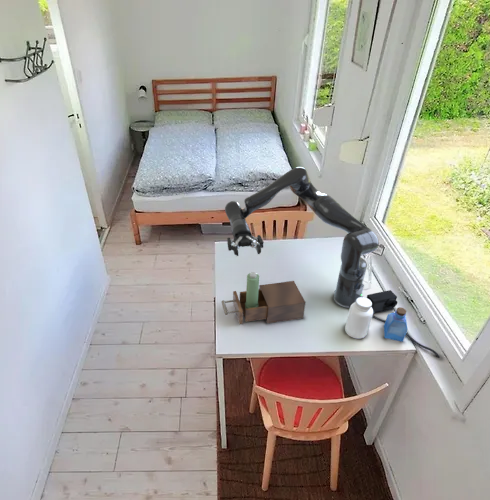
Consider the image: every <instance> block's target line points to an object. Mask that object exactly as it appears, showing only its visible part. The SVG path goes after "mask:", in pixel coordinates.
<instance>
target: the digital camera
mask: <svg viewBox="0 0 490 500" xmlns="http://www.w3.org/2000/svg"><path fill="white" fill-rule="evenodd" d="M366 298H367V299H369V300H370V301H371V302H372V306H371V307H372V309H373V315H374V314H379V313H383V312H389V311H392V310H394V309H395V307H396V306H397V304H398V300H397V298H398V296H397V294H396V293H394V292H393V290H392V289H389V290H383V291H379V292H374V293H369V294H367V295H366Z"/></svg>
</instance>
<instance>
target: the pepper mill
mask: <svg viewBox="0 0 490 500" xmlns="http://www.w3.org/2000/svg"><path fill="white" fill-rule="evenodd" d="M259 285H260V275H259V273H256V272H254V271H251V272H249V273H248V274H247V275H246V290H245V291H246V303H245V309H247V308H255V307H258V292H259Z"/></svg>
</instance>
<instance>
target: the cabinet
mask: <svg viewBox="0 0 490 500" xmlns="http://www.w3.org/2000/svg"><path fill="white" fill-rule="evenodd" d="M259 289H260V290H261V292H262V295H263V297H264V299H265V302H266V304H267V307H268V312H267V319H265V321H266V324H272V323H280V322H281V323H282V322H288V321H294V320H302V319H304V316H305V308H306V301H305V298H304V297H303V295H302V293H301V292H300V289H299V287H298V286H297V283H296V282H295V280H289V281H281V282H274V283H266V284H259Z"/></svg>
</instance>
